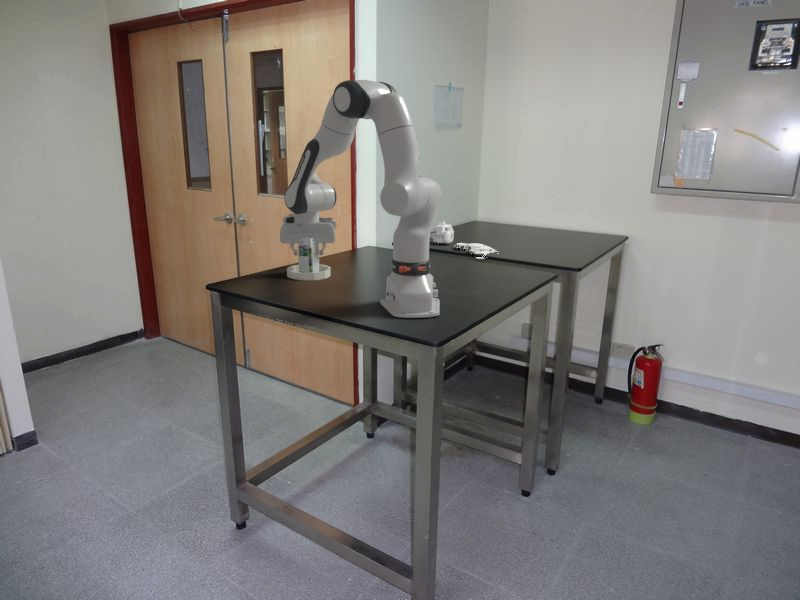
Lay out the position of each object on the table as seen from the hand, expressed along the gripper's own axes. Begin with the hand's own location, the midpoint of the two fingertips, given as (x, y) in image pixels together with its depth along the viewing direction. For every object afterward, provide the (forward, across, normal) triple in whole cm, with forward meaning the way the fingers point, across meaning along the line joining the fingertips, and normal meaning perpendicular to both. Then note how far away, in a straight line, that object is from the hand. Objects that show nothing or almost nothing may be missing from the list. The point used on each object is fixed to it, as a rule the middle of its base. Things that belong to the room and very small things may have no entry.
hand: (308, 255), depth 201 cm
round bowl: (+8, 0, 0) cm, 8 cm away
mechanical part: (+8, -63, -63) cm, 90 cm away
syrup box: (+8, 0, 0) cm, 8 cm away
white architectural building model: (+9, -78, -41) cm, 88 cm away
